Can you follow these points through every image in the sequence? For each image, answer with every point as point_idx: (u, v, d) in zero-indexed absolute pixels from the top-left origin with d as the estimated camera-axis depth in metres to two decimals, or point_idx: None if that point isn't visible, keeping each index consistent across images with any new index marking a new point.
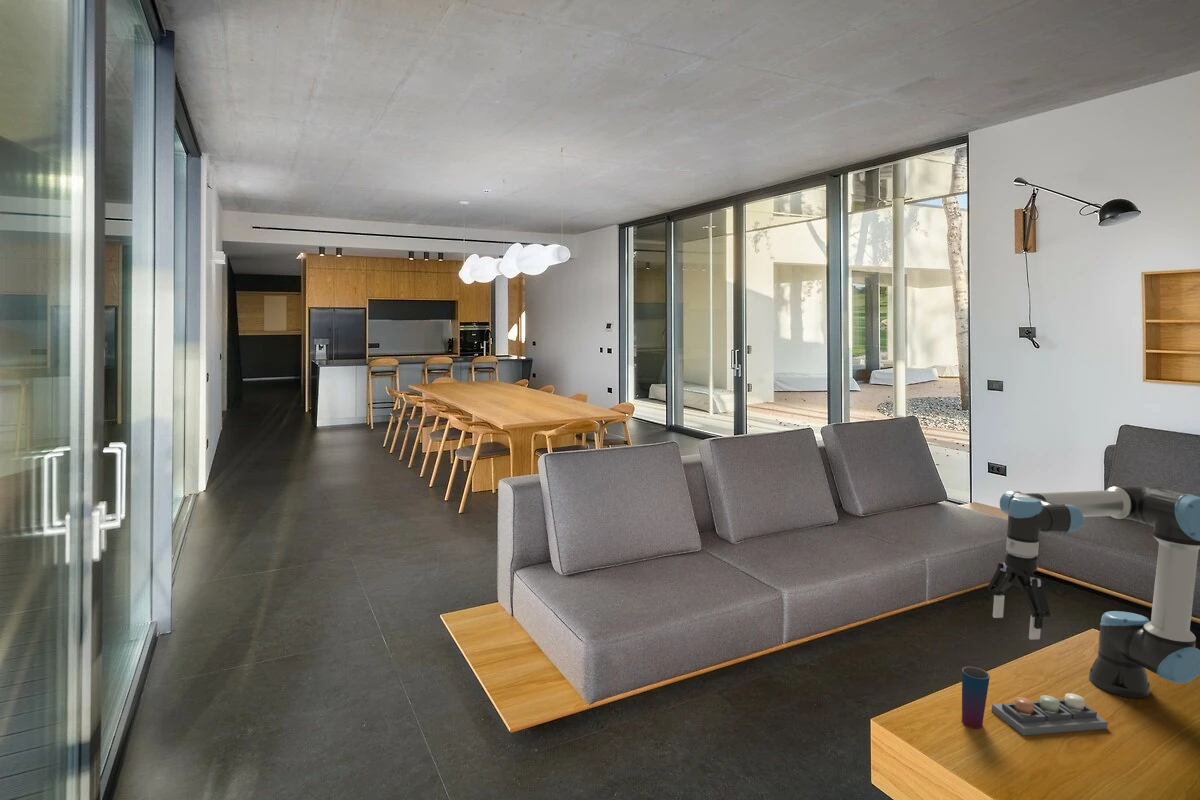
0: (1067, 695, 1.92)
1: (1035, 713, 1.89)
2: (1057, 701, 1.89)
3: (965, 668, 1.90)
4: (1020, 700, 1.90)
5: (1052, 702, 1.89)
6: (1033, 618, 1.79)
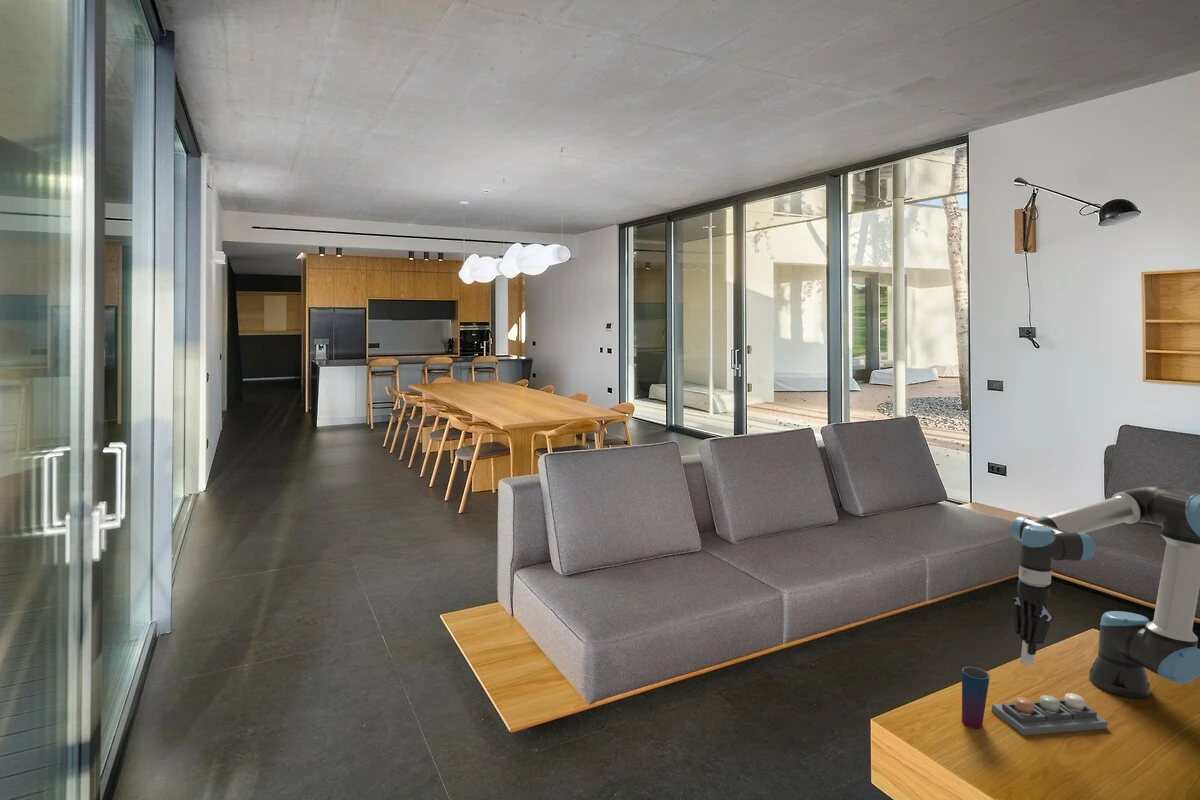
0: (1067, 695, 1.92)
1: (1035, 713, 1.89)
2: (1057, 701, 1.89)
3: (965, 668, 1.90)
4: (1020, 700, 1.90)
5: (1052, 702, 1.89)
6: (1027, 644, 1.86)
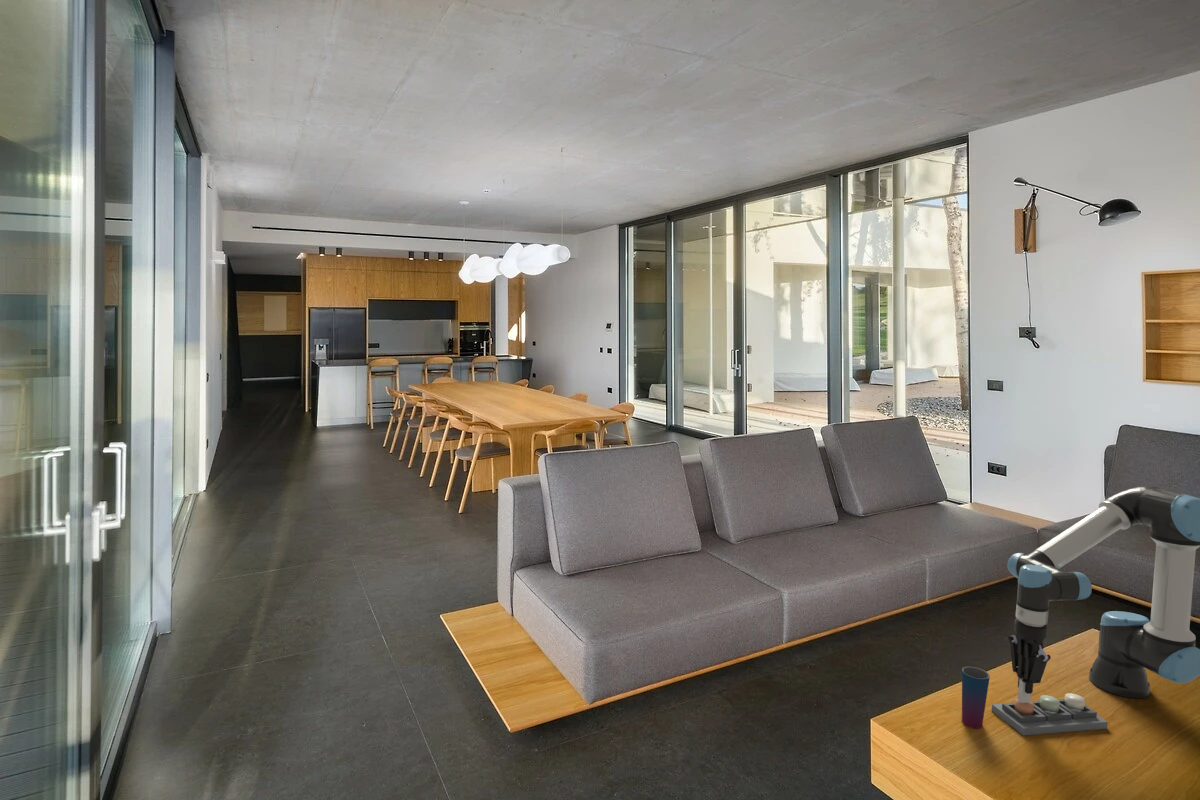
0: (1067, 695, 1.92)
1: (1035, 713, 1.89)
2: (1057, 701, 1.89)
3: (965, 668, 1.90)
4: None
5: (1052, 702, 1.89)
6: (1024, 683, 1.88)
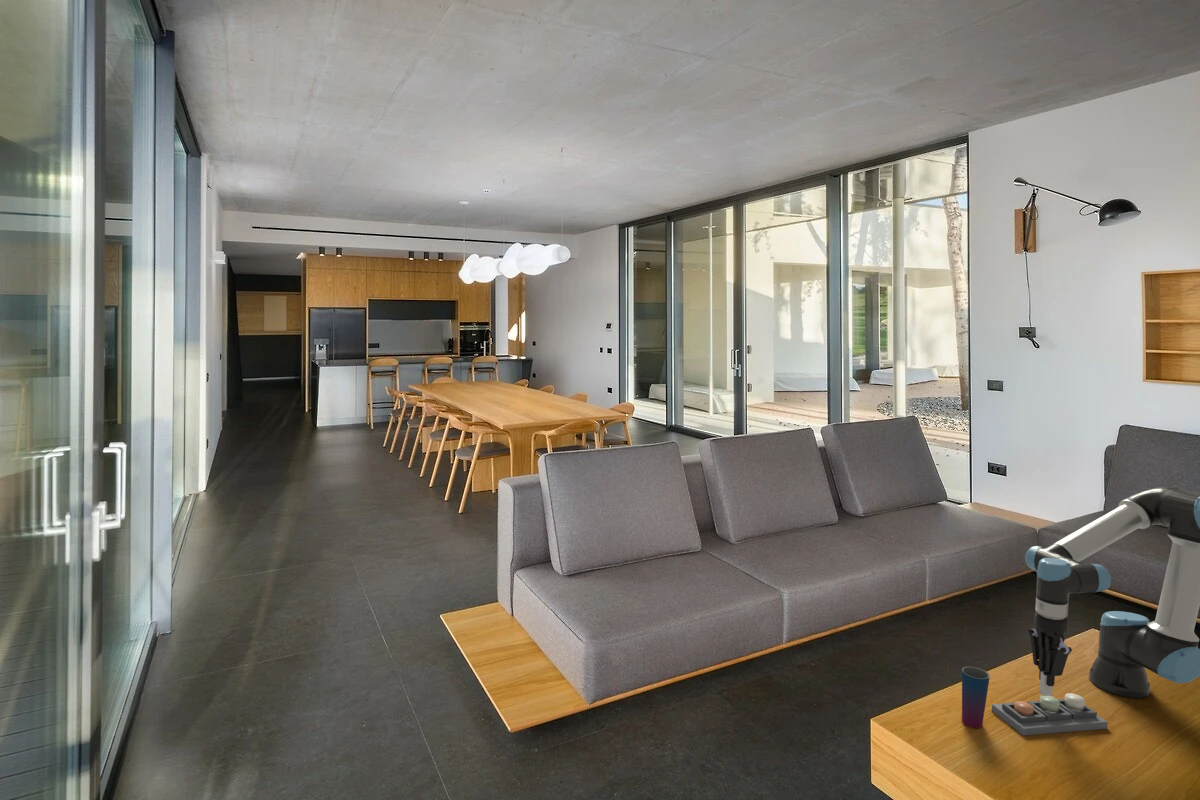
0: (1067, 695, 1.92)
1: (1035, 713, 1.89)
2: (1057, 701, 1.89)
3: (965, 668, 1.90)
4: (1020, 704, 1.90)
5: (1052, 702, 1.89)
6: (1045, 676, 1.88)
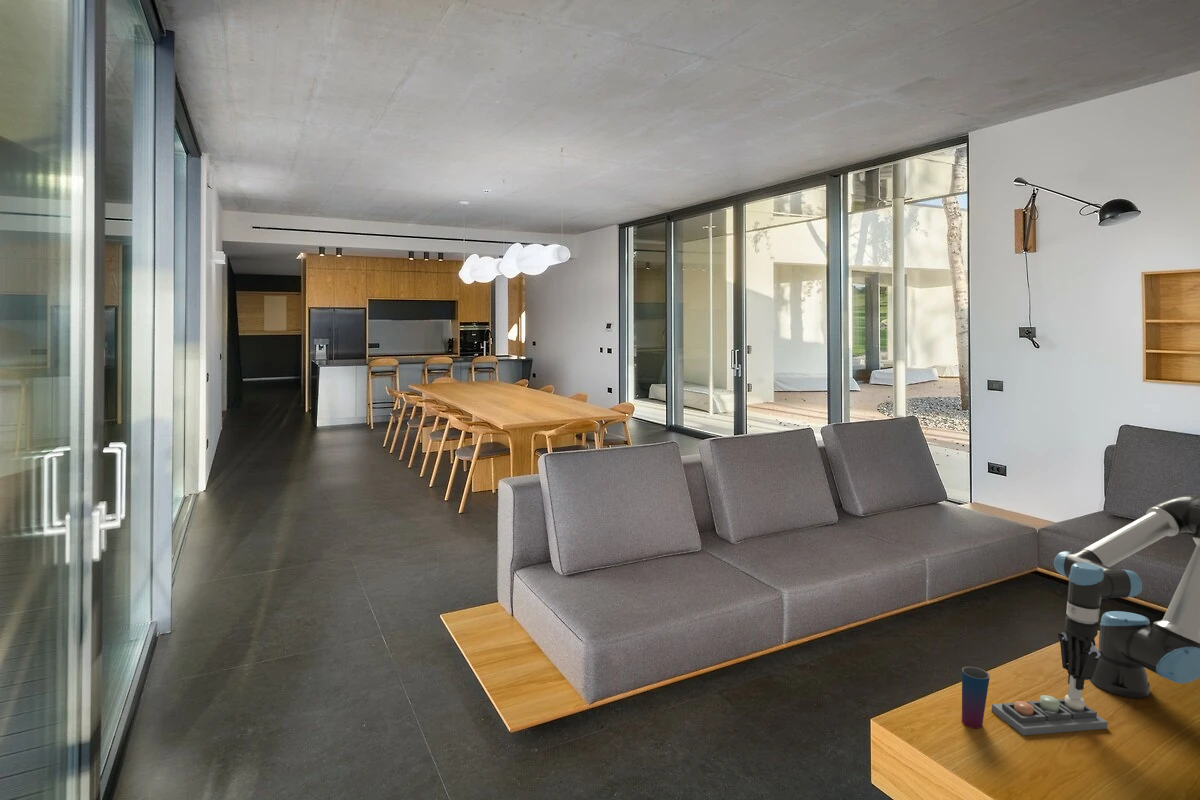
0: (1067, 696, 1.92)
1: (1035, 713, 1.89)
2: (1057, 701, 1.89)
3: (965, 668, 1.90)
4: (1020, 704, 1.90)
5: (1052, 702, 1.89)
6: (1075, 680, 1.90)
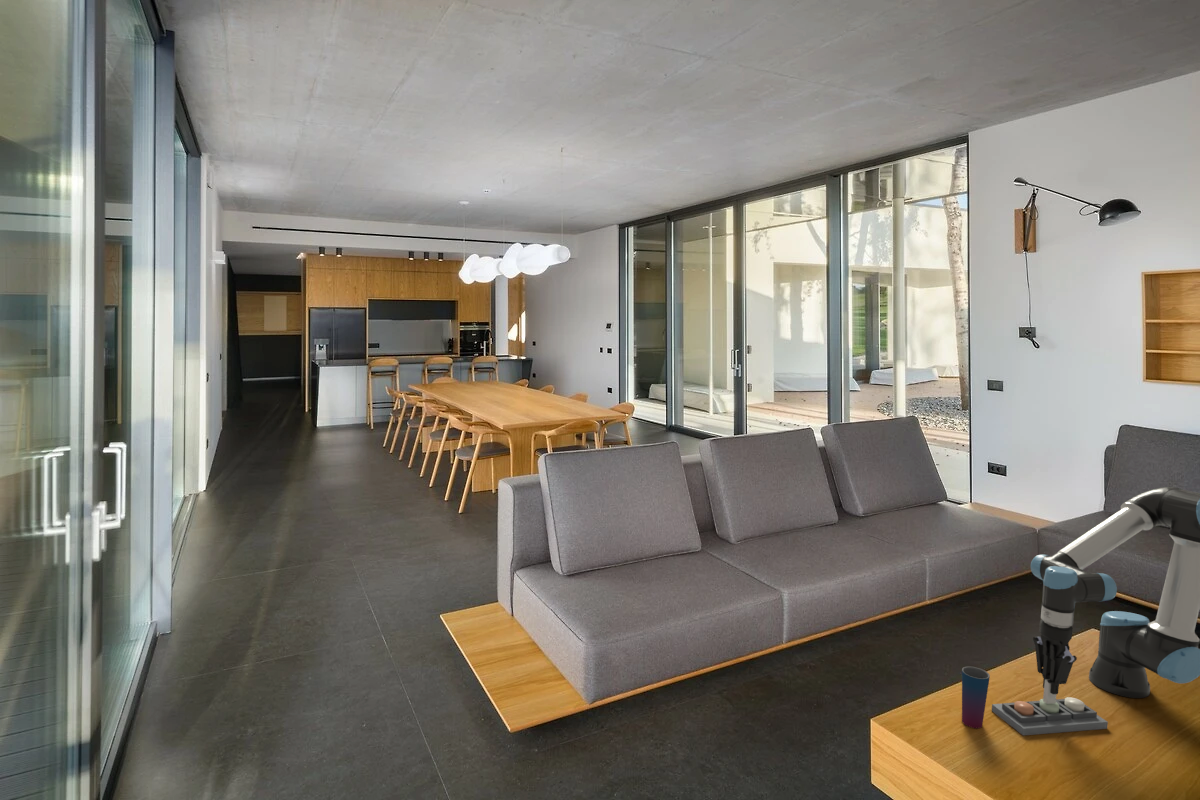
0: (1067, 699, 1.93)
1: (1035, 713, 1.89)
2: (1057, 705, 1.89)
3: (965, 668, 1.90)
4: (1020, 704, 1.90)
5: (1051, 706, 1.89)
6: (1049, 684, 1.89)
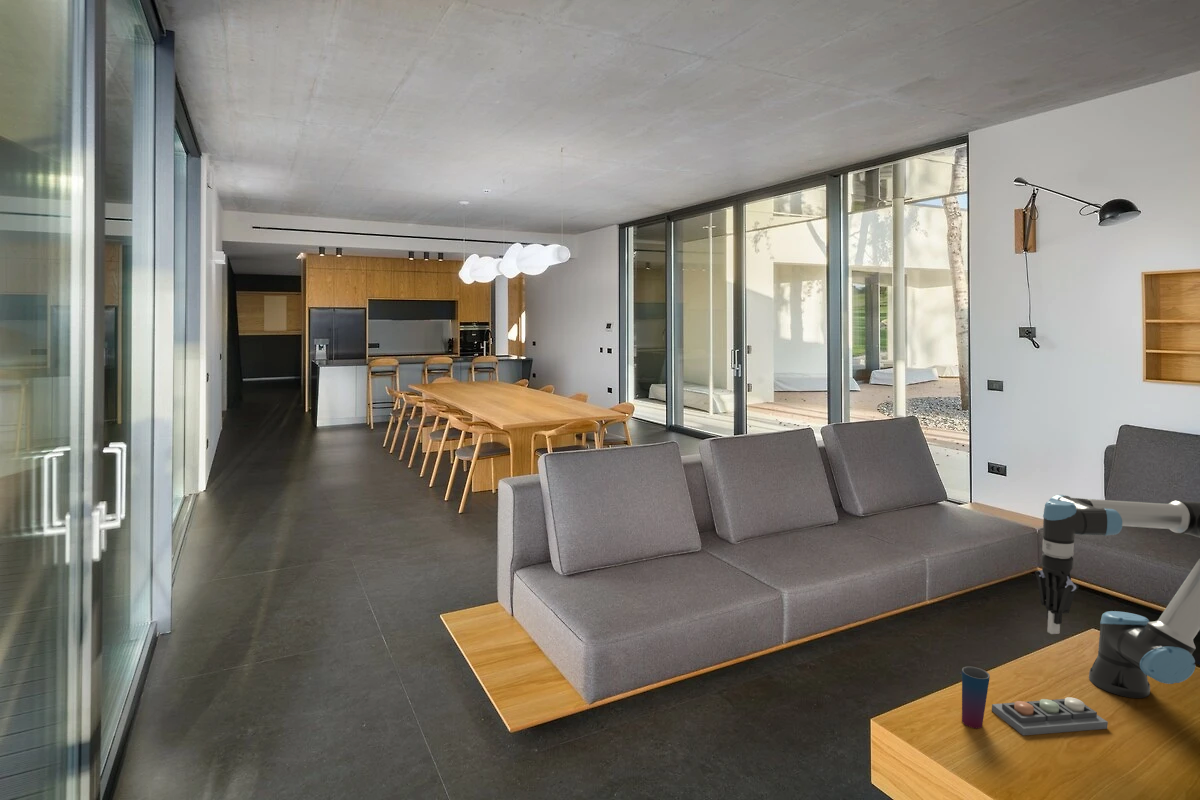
0: (1067, 699, 1.93)
1: (1035, 713, 1.89)
2: (1056, 705, 1.89)
3: (965, 668, 1.90)
4: (1020, 704, 1.90)
5: (1051, 706, 1.89)
6: (1053, 614, 1.95)
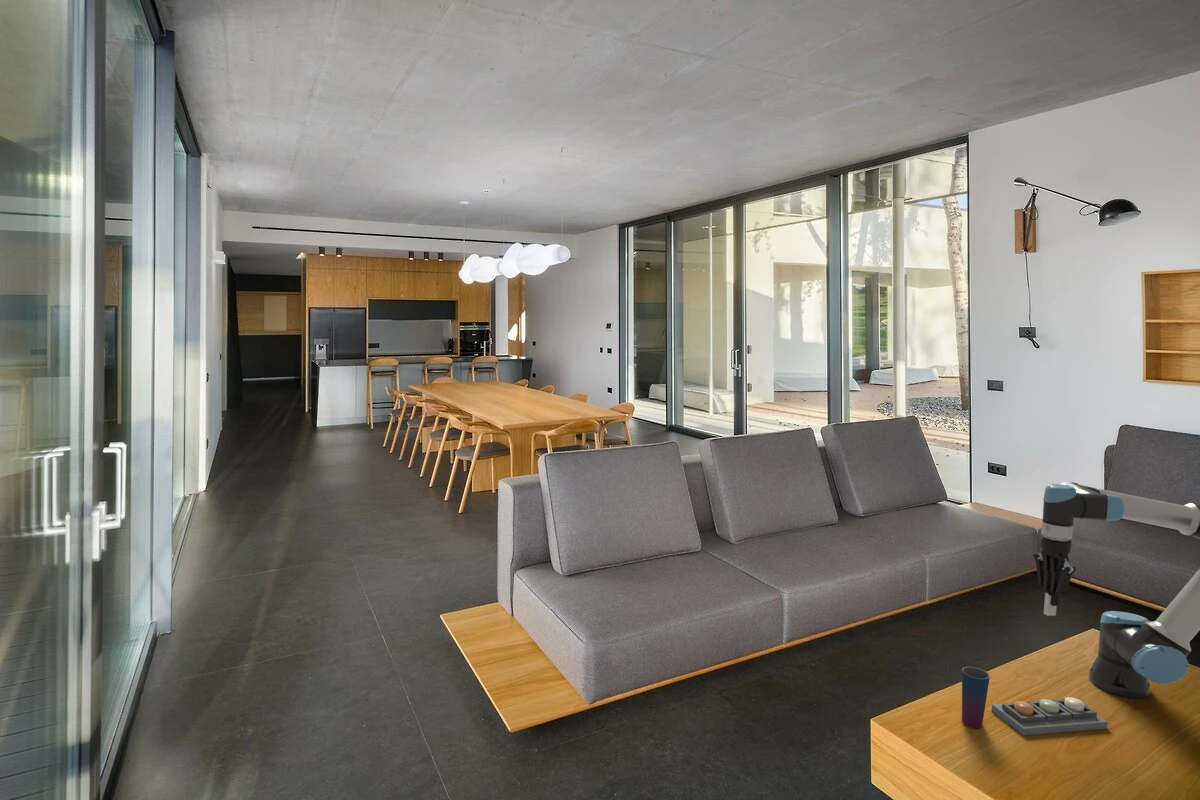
0: (1067, 699, 1.93)
1: (1035, 713, 1.89)
2: (1056, 705, 1.89)
3: (965, 668, 1.90)
4: (1020, 704, 1.90)
5: (1051, 706, 1.89)
6: (1050, 596, 1.97)
